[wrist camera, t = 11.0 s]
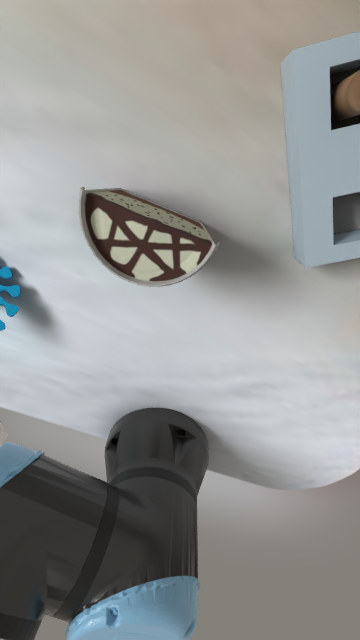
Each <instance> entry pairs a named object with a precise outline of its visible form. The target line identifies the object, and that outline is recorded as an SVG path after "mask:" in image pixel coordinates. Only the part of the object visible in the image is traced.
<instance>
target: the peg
mask: <svg viewBox="0 0 360 640" xmlns="http://www.w3.org/2000/svg"><path fill="white" fill-rule="evenodd" d="M330 105H331V122H338V121H341V120H344V119H348V118H351V117H354V116H357V115H360V70H359V71H357V72H356V73H354V74H352V75H351V76H349V77H347V78H346V79H344V80H342V81H341V82H339V83H337V84H335V85H334V86H332V87H331V88H330Z"/></svg>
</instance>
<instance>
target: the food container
mask: <svg viewBox="0 0 360 640" xmlns="http://www.w3.org/2000/svg"><path fill="white" fill-rule="evenodd" d="M84 188H85V187H82V188H81V190H80V196H79V217H80V224H81V228H82V231H83V234H84V237H85V239H86V241H87V244H88V246H89V247H90V249H91V251H92V252H93V254H94V255H95V256H96V258H97V259H98V260H99V261H100V262H101V263H102V265H104V266H105V267H106V268H107V269H108V270H109V271H110V272H112V273H113V274H115V275H117V276H118V277H120V278H122V279H124V280H126V281H128V282H131V283H134V284H138V285H142V286H149V287H161V286H167V285H172V284H175V283H178V282H181V281H183V280H185V279H187V278H189V277H191V276H192V275H194V274H195V273H196V272H198V271H199V270H200V269H201V268H202V267H203V266H204V265H205V264H206V263H207V262H208V261H209V260H210V258H211V257H212V255H213V254H214V253H215V251H216V249H217V248H218V246H219V244H220V243H219V242H218V243H217V244H215V242H214V241H213V239H212V238H211V236H210V234H209V233H208V231H207V229H206V228H205V226H204V225H203V223H202V222H200V221H198V220H196V219H193V218H191V217H188V216H186V215H184V214H181V213H179V212H176V211H174V210H171V209H169V208H167V207H164V206H162V205H159V204H157V203H155V202H152V201H150V200H147V199H145V198H143V197H140V196H138V195H135V194H133V193H130V192H128V191H126V190H123V189H121V188H113V189H96V190H84Z"/></svg>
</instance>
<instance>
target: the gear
mask: <svg viewBox="0 0 360 640" xmlns="http://www.w3.org/2000/svg"><path fill="white" fill-rule="evenodd" d="M0 277H1V278H3V279H11V278H12V273H11V271H10V269H9V267H3V268H2V269H1V270H0ZM2 291H6V292H8V293H9V294H10V295H11V296H12V297H14V298H17V297H18V296H19V293H20V287H19V286H17V285H13V286H2V285H0V292H2ZM0 305H3V306H4V307H5V308H6V313H7V315H8V316H10V317H13V316H14V315H15V314H16V313H17V312H18V310H19V308H18V307H17V306H16V305H12V304H9V303H7V302H5V301H4V300H3V299H2V298H1V297H0ZM3 329H5V323H4V322H2V321H1V320H0V331H1V330H3Z"/></svg>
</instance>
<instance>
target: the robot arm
mask: <svg viewBox="0 0 360 640" xmlns="http://www.w3.org/2000/svg"><path fill="white" fill-rule="evenodd" d="M7 437H8V435H7V433H6V431H5V429H4V427H3V425H2V424H1V422H0V640H34V638H35V635H36V633H37V631H38V628H39V626H40V623H41V621H42V619H43V617H44V616H45V615H49V616H52V617H55V618H58V619H61V620H64V621H66V622H68V623H69V625H68V627H67V630H66V638H67V639H66V640H190V639H191V638H192V636H193V633H194V631H195V628H196V622H197V608H198V590H199V588H200V583H199V580H198V547H197V546H198V542H197V495H198V492H199V489H200V486H201V483H202V480H203V478H204V474H205V472H206V469H207V465H208V443H207V439H206V436H205V434H204V432H203V431H202V429H201V428H200V427H199V426H198V424H196V423H195V422H194V421H193V420H192V419H190V418H189V417H187V416H185V415H183V414H181V413H179V412H176V411H173V410H169V409H162V408H147V409H141V410H137V411H134V412H131V413H129V414H127V415H125V416H124V417H122V418H121V419H120V420H118V421H117V422H116V424H115V425H114V426H113V428H112V429H111V431H110V434H109V437H108V440H107V443H106V447H105V463H106V475H107V483H106V482H105V481H102V480H100V479H97V478H95V477H93V476H90V475H88V474H86V473H83V472H81V471H79V470H77V469H74V468H72V467H70V466H68V465H65V464H63V463H61V462H59V461H56V460H54V459H52V458H50V457H47V456H45V455H44V452H42V451H39V452H37V451H34V450H31V449H28V448H26V447H23V446H20V445H18V444H15V443H11V442H4V441H5V440H6V439H7Z"/></svg>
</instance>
